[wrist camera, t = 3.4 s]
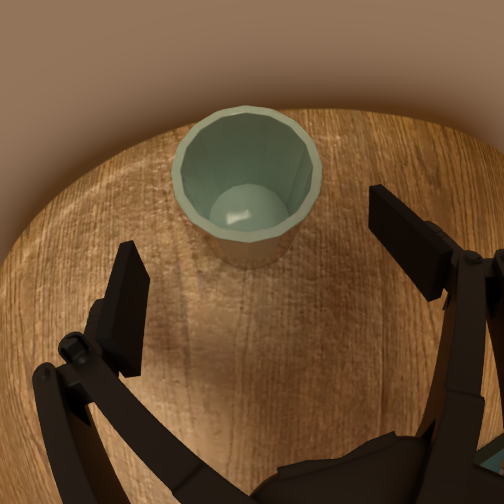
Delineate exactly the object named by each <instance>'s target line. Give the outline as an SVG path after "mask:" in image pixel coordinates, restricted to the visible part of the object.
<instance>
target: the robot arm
mask: <svg viewBox="0 0 504 504" xmlns="http://www.w3.org/2000/svg"><path fill="white" fill-rule="evenodd" d="M368 228H369V229H370V231H371V232H372V233H373V234H374V235H375V236H376V238H377V239H378V240H379V241H380V242H381V243H382V245H383V246H384V247H385V248H386V249H387V251H388V252H389V253H390V254H391V255H392V257H393V258H394V259H395V260H396V262H397V263H398V264H399V265H400V266H401V268H402V269H403V270H404V271H405V273H406V274H407V275H408V277H409V278H410V279H411V280H412V282H413V283H414V284H415V285H416V287H417V288H418V289H419V291H420V292H421V293H422V295H423V296H424V297H425V299H426V300H427V301H428V302H430V301H433V300H435V299H438V298H440V297H441V295H442V291H443V288H444V289H445V290H446V291H447V292H448V294H447V298H446V301H445V304H444V307H443V309H442V310H445V312H444V320H443V327H442V333H441V339H440V345H439V351H438V356H437V361H436V366H435V371H434V375H433V380H432V384H431V388H430V392H429V396H428V400H427V404H426V408H425V411H424V415H423V418H422V421H421V424H420V426H419V428H418V430H417V433H416V435H415V437H414V436H396V434H395V431H392V432H390V433H387V434H385V435H382V436H380V437H377V438H374V439H372V440H369V441H367V442H365V443H364V444H362V445H361V446H359V447H358V448H356V449H355V450H353V451H351V452H350V453H348V454H347V455H345V456H343V457H341V458H337V459H323V460H306V461H302V462H298V463H294V464H290V465H286V466H282V467H277V471H278V473H277V474H275V475H273V476H271V477H269V478H268V479H266V480H265V481H263V482H262V483H261V484H260V485H259V486H258V487H257V488H256V489H255V490H254V491H253V492H252V493H251V495H250V496H248V495H246V494H245V493H244V492H242V491H241V490H240V489H238V488H237V487H235V486H234V485H233V484H231V483H230V482H229V481H228V480H226V479H225V478H224V477H222V476H221V475H220V474H219V473H217V472H216V471H215V470H214V469H212V468H211V467H210V466H209V465H207V464H206V463H205V462H204V461H202V460H201V459H200V458H199V457H198V456H196V455H195V454H194V453H193V452H192V451H191V450H190V449H188V448H187V447H186V446H185V445H184V444H183V443H182V442H181V441H179V440H178V439H177V438H176V437H175V436H174V435H173V434H172V433H171V432H170V431H169V430H168V429H167V428H166V427H165V426H164V425H162V424H161V423H160V422H159V421H158V420H157V419H156V418H155V417H154V416H153V415H152V414H151V413H150V412H149V411H148V410H147V409H146V408H145V407H144V405H143V404H142V403H141V402H140V401H139V400H138V399H137V398H136V397H135V396H134V395H133V394H132V393H131V392H130V391H129V389H128V388H127V387H126V386H125V385H124V384H123V383H122V382H121V381H120V379H119V378H118V377H119V371H120V372H121V374H122V375H123V376H124V377H125V378H129V377H136V376H141V362H142V350H143V338H144V328H145V318H146V309H147V301H148V292H149V285H150V278H149V275H148V273H147V271H146V269H145V267H144V264H143V262H142V260H141V258H140V255H139V253H138V251H137V248H136V246H135V244H134V241H133V240H131V241H127V242H123V243H120V245H119V249H118V252H117V255H116V258H115V261H114V265H113V268H112V272H111V275H110V278H109V282H108V286H107V289H106V293H105V297H104V298H102V299H97V300H96V301H95V302H94V304H93V305H92V307H91V309H90V312H89V316H88V317H89V318H88V319H87V324H86V327H85V330H84V334H82V333H80V332H76V331H75V332H71V333H69V334H68V335H66V336H65V337H64V338H63V339H62V340H61V342H60V343H59V346H58V352H59V354H60V356H61V357H62V358H63V359H64V360H65V361H66V362H67V363H66V364H63V365H61V366H59V367H57V368H56V367H55V366H54V365H53V364H51V363H49V362H45V363H43V364H41V365H40V366H38V367H37V368H36V370H35V371H34V373H33V376H32V382H33V389H34V395H35V401H36V407H37V412H38V417H39V422H40V427H41V431H42V435H43V440H44V444H45V448H46V451H47V455H48V459H49V462H50V466H51V469H52V472H53V476H54V479H55V482H56V485H57V488H58V491H59V494H60V496H61V499H62V502H63V504H131V503H130V501H129V499H128V497H127V495H126V493H125V491H124V490H123V488H122V486H121V484H120V481H119V479H118V477H117V475H116V473H115V471H114V469H113V467H112V464H111V462H110V460H109V458H108V455H107V453H106V451H105V448H104V446H103V444H102V441H101V439H100V436H99V434H98V431H97V429H96V426H95V423H94V421H93V418H92V415H91V412H90V410H89V407H88V404H90V403H92V402H95V404H96V405H97V407H98V408H99V409H100V411H101V412H102V413H103V415H104V416H105V417H106V418H107V420H108V421H109V422H110V424H111V425H112V426H113V427H114V429H115V430H116V431H117V432H118V434H119V435H120V436H121V437H122V438H123V440H124V441H125V442H126V443H127V444H128V445H129V447H130V448H131V449H132V450H133V451H134V452H135V453H136V455H137V456H138V457H139V458H140V459H141V460H142V461H143V462H144V463H145V464H146V466H147V467H148V468H149V469H150V470H151V471H152V472H153V473H154V474H155V475H156V476H157V477H158V478H159V479H160V480H161V481H162V482H163V483H164V484H165V485H166V486H167V487H168V488H169V489H170V490H171V492H172V495H173V496H174V497H175V498H176V499H177V500H178V501H179V502H180V503H181V504H504V473H503V475H501V474H499V473H497V472H494V471H492V470H490V469H487V468H485V467H483V466H480V465H478V464H476V463H474V458H475V454H476V450H477V445H478V440H479V435H480V430H481V425H482V419H483V413H484V406H485V399H484V397H482V396H481V385H482V376H483V366H484V353H485V334H486V320H487V324H488V329H489V333H490V338H491V342H492V347H493V352H494V357H495V363H496V369H497V375H498V382H499V389H500V397H501V406H502V416H503V428H504V249H498V250H497V251H496V252H495V255H494V258H485V259H483V258H482V257H481V255H479V254H478V253H476V252H474V251H471V250H465V251H464V250H463V249H462V248H461V247H460V246H459V245H458V244H457V243H456V242H455V241H454V240H452V239H451V238H450V237H449V236H448V235H447V234H446V233H445V232H443V230H442V229H441V228H440V227H439V226H437V225H436V224H434V223H432V222H430V221H423V220H422V219H421V218H420V217H419V216H417V215H416V214H415V213H414V212H413V211H412V210H411V209H410V208H408V207H407V206H406V205H405V204H404V203H403V202H402V201H400V200H399V199H398V198H397V197H396V196H395V195H393V194H392V193H391V192H390V191H389V190H387V189H386V188H385V187H384V186H383V185H381V184H379V185H374V186H369V222H368ZM501 468H502V470H503V471H504V459H503V460H502V462H501Z"/></svg>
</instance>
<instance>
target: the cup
mask: <svg viewBox="0 0 504 504" xmlns="http://www.w3.org/2000/svg"><path fill="white" fill-rule="evenodd" d="M322 169H323V167H322V163H321V160H320V157H319V154H318V151H317V148H316V145H315V143H314V141H313V140H312V138H311V137H310V136H309V135H308V134H307V133H306V132H305V131H304V129H303V128H302V127H301V126H300V125H299V124H298V123H297V122H296V121H294V120H293V119H291V118H289V117H287V116H285V115H283V114H281V113H279V112H277V111H275V110H273V109H268V108H261V107H253V106H240V107H235V108H229V109H224V110H220V111H217V112H215V113H213V114H212V115H210V116H208V117H207V118H205V119H203V120H202V121H200V122H198V123H197V124H195V125H194V126H193V127H192V129H191V130H190V131H189V132H188V134H187V135H186V136H185V137H184V139H183V140H182V141H181V142H180V144H179V145H178V147H177V151H176V154H175V158H174V161H173V165H172V169H171V177H172V183H173V189H174V195H175V198H176V201H177V202H178V204H179V205H180V207H181V208H182V210H183V211H184V212H185V214H186V215H187V217H188V218H189V220H190V221H191V223H192V224H193V225H194V227H195V228H196V230H197V231H198V232H199V234H200V235H201V236H202V238H203V239H204V241H205V242H206V243H207V245H208V246H209V247H210V249H211V250H212V251H213V253H214V254H215V255H216V256H217V257H218V258H220V259H221V260H222V261H224V262H225V263H227V264H229V265H231V266H234V267H238V268H243V269H255V268H260V267H264V266H266V265H269V264H271V263H273V262H274V261H276V260H277V259H278V258H279V257H281V256H282V255H283V254H284V253H285V252H286V250H287V248H288V247H289V245H290V244H291V242H292V240H293V239H294V237H295V235H296V234H297V232H298V230H299V229H300V227H301V225H302V223H303V222H304V220H305V218H306V217H307V215H308V213H309V212H310V210H311V208H312V207H313V205H314V203H315V201H316V200H317V198H318V196H319V195H320V190H321V180H322Z"/></svg>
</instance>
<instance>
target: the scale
mask: <svg viewBox="0 0 504 504" xmlns="http://www.w3.org/2000/svg"><path fill="white" fill-rule="evenodd" d="M503 459H504V433H503V434H502V435H501V436H499V437H498V438H496V439H495V440H493V441H492V442H491V443H489V444H488V445H486V446H485V447H483V448H482V449H480V450H479V451H477V452H476V454H475V458H474V463H476V464H478V465H480V466H483V467H485V468H487V469H490V470H492V471H494V472H497V473H499V474H501V475H503V473H504V471H503V470H502V468H501V462H502V460H503Z"/></svg>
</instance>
